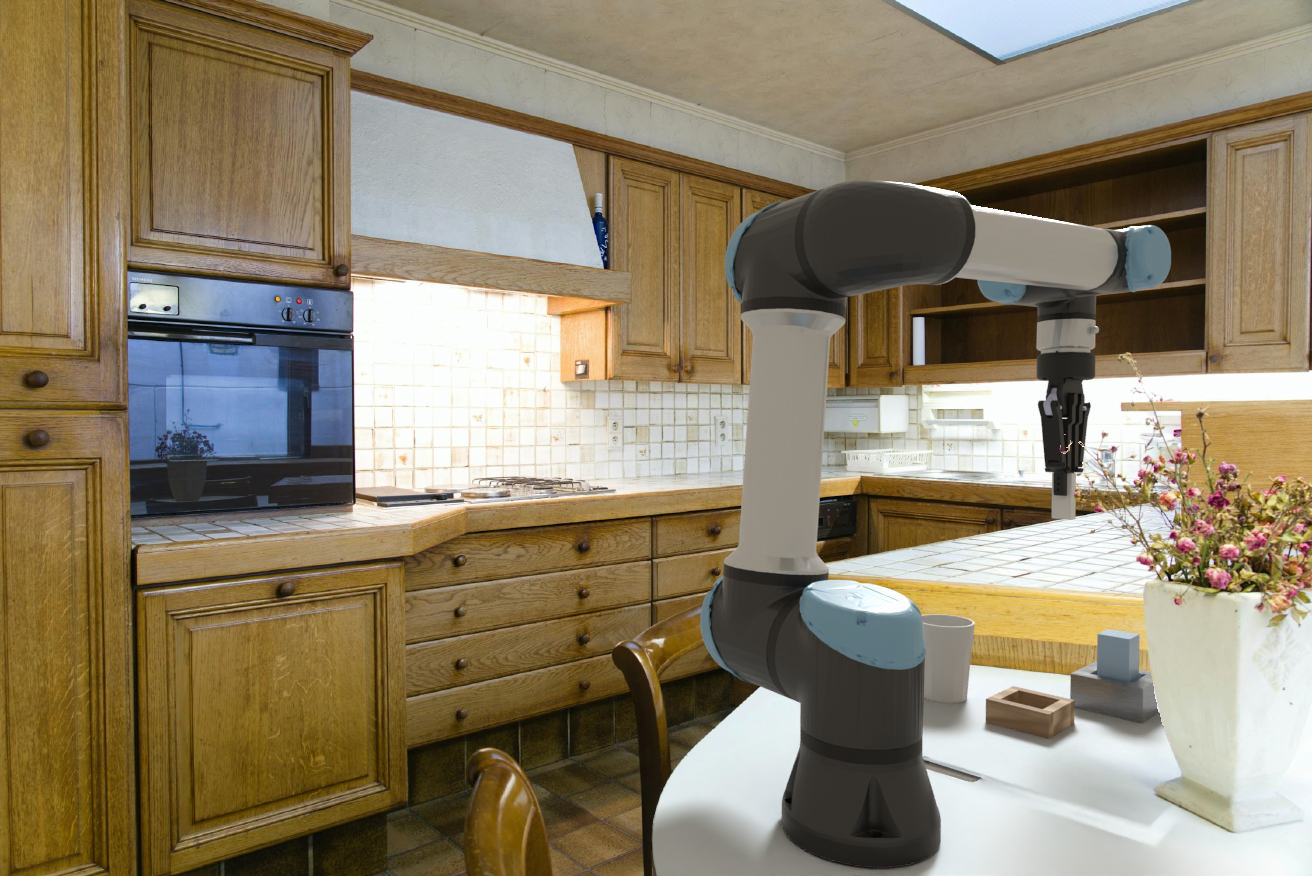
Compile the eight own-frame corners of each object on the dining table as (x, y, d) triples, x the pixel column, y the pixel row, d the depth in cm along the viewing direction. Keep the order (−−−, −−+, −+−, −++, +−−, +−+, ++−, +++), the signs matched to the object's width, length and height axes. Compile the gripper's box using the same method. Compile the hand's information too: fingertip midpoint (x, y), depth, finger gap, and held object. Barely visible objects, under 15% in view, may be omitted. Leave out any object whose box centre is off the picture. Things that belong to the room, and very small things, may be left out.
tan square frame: (1048, 742, 105) (1049, 714, 105) (985, 725, 111) (985, 698, 111) (1074, 727, 111) (1074, 700, 111) (1012, 711, 117) (1013, 686, 117)
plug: (1128, 714, 115) (1129, 639, 114) (1096, 706, 117) (1097, 633, 117) (1138, 707, 117) (1139, 634, 117) (1106, 700, 120) (1108, 629, 120)
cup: (982, 714, 118) (983, 627, 118) (923, 714, 118) (924, 626, 118) (962, 696, 126) (963, 614, 126) (907, 695, 126) (908, 613, 126)
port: (1142, 727, 111) (1143, 688, 111) (1070, 709, 118) (1070, 673, 118) (1164, 711, 117) (1165, 674, 117) (1094, 695, 124) (1095, 661, 124)
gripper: (1075, 347, 115) (1072, 524, 115) (1110, 353, 124) (1108, 517, 124) (1019, 350, 120) (1017, 519, 121) (1057, 356, 129) (1055, 513, 130)
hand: (1063, 518), depth 122 cm, fingers closed
